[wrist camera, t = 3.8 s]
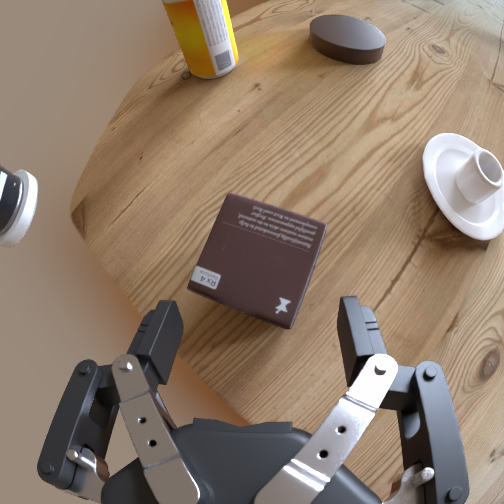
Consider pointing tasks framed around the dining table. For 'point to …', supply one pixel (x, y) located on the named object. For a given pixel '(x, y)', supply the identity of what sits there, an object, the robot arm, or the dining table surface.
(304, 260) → the box
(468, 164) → the candle holder
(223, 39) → the beer can
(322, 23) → the walnut coaster
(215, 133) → the dining table surface
